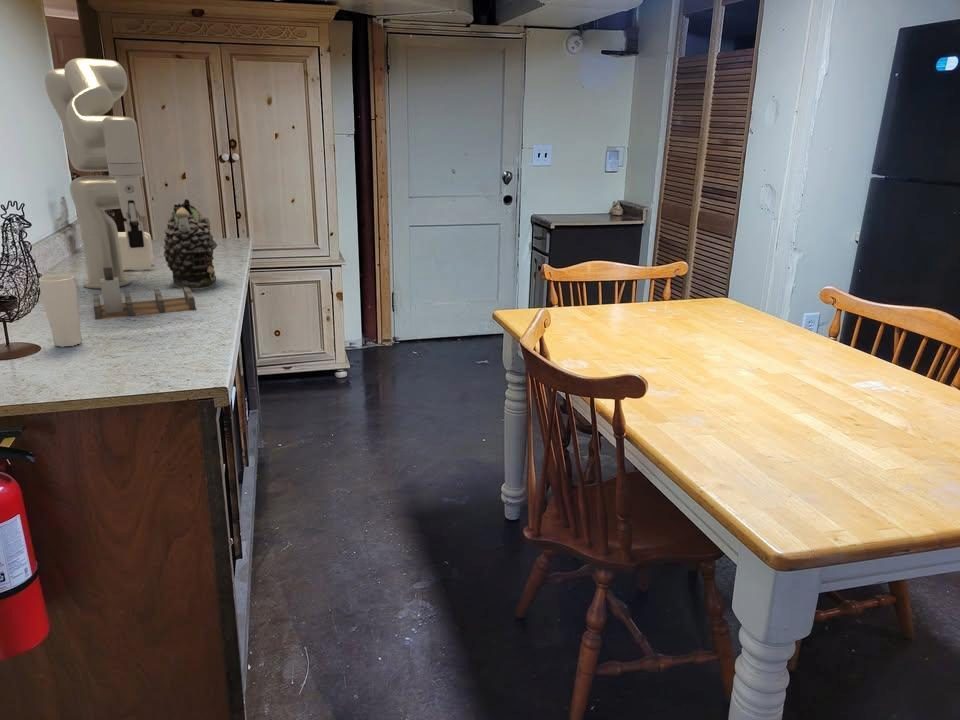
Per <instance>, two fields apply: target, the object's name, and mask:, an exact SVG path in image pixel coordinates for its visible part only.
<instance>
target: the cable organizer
mask: <svg viewBox="0 0 960 720" xmlns="http://www.w3.org/2000/svg"><path fill="white" fill-rule="evenodd" d="M117 232H118V238H119V245H120V252H121V259H122V265H123V272H125V271H128V270H129V271H130V270H133V271H134V272H135V271H136V272H138V271H146V270H147V269H149V268H150V267H152V265H153V262H154V260H155V259H154V251H153V244H152V243H153V242H152V237H151V234H150V233H148V232H147V231H144V236H145V243H146V251H147V255H136V256H129V252H128V246H127V239H126V232H125V231H122V232H121V231H117Z"/></svg>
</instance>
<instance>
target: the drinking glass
mask: <svg viewBox="0 0 960 720" xmlns="http://www.w3.org/2000/svg"><path fill="white" fill-rule="evenodd" d="M38 283H39V291H40V292H39V293H40V296H41V301H42V305H43V307H44V310H45V314H46V318H47V321H48V324H49V328H50V332H51V335H52V340H53V344H54V345H55V346H56V347H57V346H62V347H61V348H64V347H63V346H72V347H75V346H74V345H76V346H78V345H77V344H79V345H80V344H82V341H83V340H82V331H81V318H80V308H79V305H80V304H79V295H78V289H77V282H76V278H75V276H74V275H73V274H72V275H71V274H54V275H53V274H52V275H47V276H42V277H40V278H38Z"/></svg>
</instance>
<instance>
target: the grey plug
mask: <svg viewBox="0 0 960 720" xmlns="http://www.w3.org/2000/svg"><path fill="white" fill-rule="evenodd" d="M103 272H104V278H102V279H100V282H101V288H100V289H101V292H102V293H101V294H102V302H103V305H104V307H105V313H112V312H123V307H122V303H123V301H122V295H121V289H120V288H121V286H120V287H119V281H118V277H115V278H113V271H112V267H104V268H103Z"/></svg>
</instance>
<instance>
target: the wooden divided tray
mask: <svg viewBox="0 0 960 720" xmlns="http://www.w3.org/2000/svg"><path fill="white" fill-rule="evenodd" d="M182 289H183V297H175V298H165V299H164V298H163V296H162V293H161V290H160V288H157V289H154V300H153V299H152V300H151V299H150V300H142V301H132V297H131V293H130V291H124V292H123V293H124V299H125V302H122V307H123V312H112V313H105V307H104V304H101V301H100V295H99V293H97V294H96V293H95V294H93V295H92V296H93V297H92V298H93V311H94V319H95V320H105V319H106V320H107V319H114V318H115V319H116V318H117V319H118V318H124V317H125V318H126V317H136V316H147V315H155V314H156V315H157V314H167V313H177V312H178V313H179V312H188V311H197V309H196V301H195V300H196V299H195V297H194V294H193V293H192V292H191V289H189V288H188V287H183V288H182Z"/></svg>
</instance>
